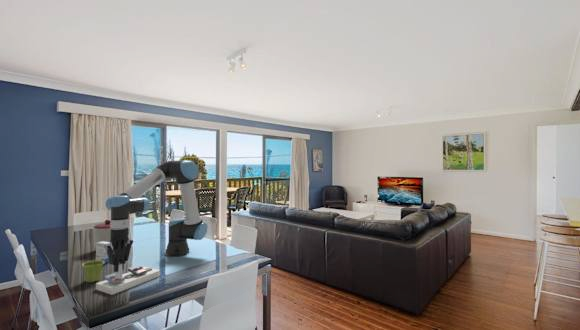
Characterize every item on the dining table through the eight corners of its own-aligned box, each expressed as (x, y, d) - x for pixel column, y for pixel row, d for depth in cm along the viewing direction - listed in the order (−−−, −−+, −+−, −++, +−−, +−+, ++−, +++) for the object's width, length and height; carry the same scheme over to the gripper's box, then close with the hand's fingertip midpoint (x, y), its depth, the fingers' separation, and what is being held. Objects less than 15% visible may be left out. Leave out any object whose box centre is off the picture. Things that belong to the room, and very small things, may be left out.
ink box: (112, 261, 176) (113, 242, 176) (105, 263, 171) (105, 244, 171) (102, 259, 178) (103, 240, 178) (95, 262, 174) (95, 242, 174)
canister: (85, 251, 194) (85, 220, 194) (110, 245, 211) (111, 216, 211) (103, 255, 187) (103, 223, 187) (128, 248, 204) (128, 218, 204)
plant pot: (89, 276, 150) (89, 260, 151) (107, 276, 151) (108, 260, 151) (77, 284, 141) (77, 266, 141) (97, 283, 142) (97, 266, 142)
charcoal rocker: (127, 272, 147) (128, 266, 147) (136, 269, 152) (137, 263, 152) (137, 277, 144) (138, 271, 144) (146, 274, 148) (147, 268, 148)
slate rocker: (104, 280, 137) (104, 274, 136) (114, 277, 141) (114, 271, 141) (114, 285, 133) (115, 279, 133) (124, 282, 138) (125, 276, 138)
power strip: (96, 289, 135) (96, 282, 135) (144, 272, 159) (145, 266, 159) (111, 294, 130) (112, 287, 130) (160, 275, 153) (160, 269, 153)
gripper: (110, 231, 129) (109, 284, 128) (137, 226, 140) (136, 274, 140) (100, 229, 132) (99, 281, 131) (127, 225, 144) (126, 272, 143)
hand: (118, 277), depth 136 cm, fingers closed
